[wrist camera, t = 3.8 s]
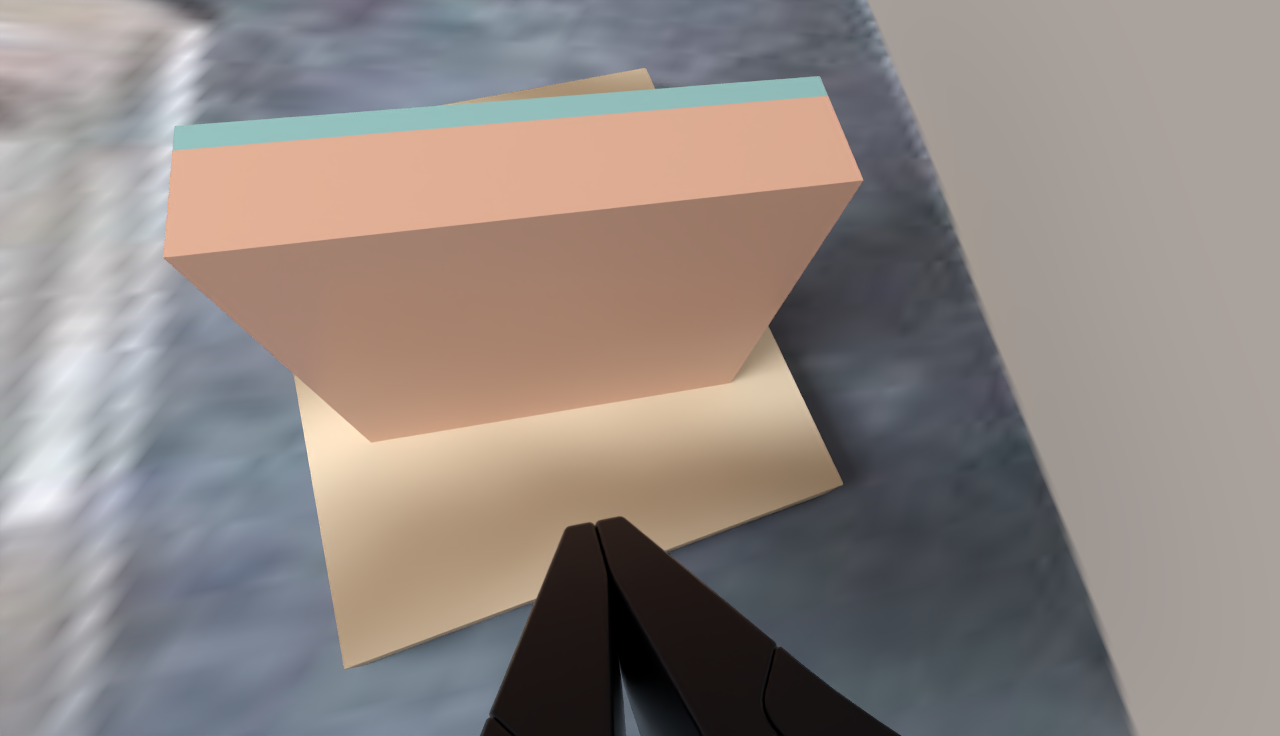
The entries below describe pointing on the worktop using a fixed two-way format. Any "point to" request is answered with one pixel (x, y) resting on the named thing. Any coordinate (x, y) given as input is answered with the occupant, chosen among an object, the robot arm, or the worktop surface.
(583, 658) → the robot arm
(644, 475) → the beech board
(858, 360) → the worktop surface
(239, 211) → the terracotta tile
